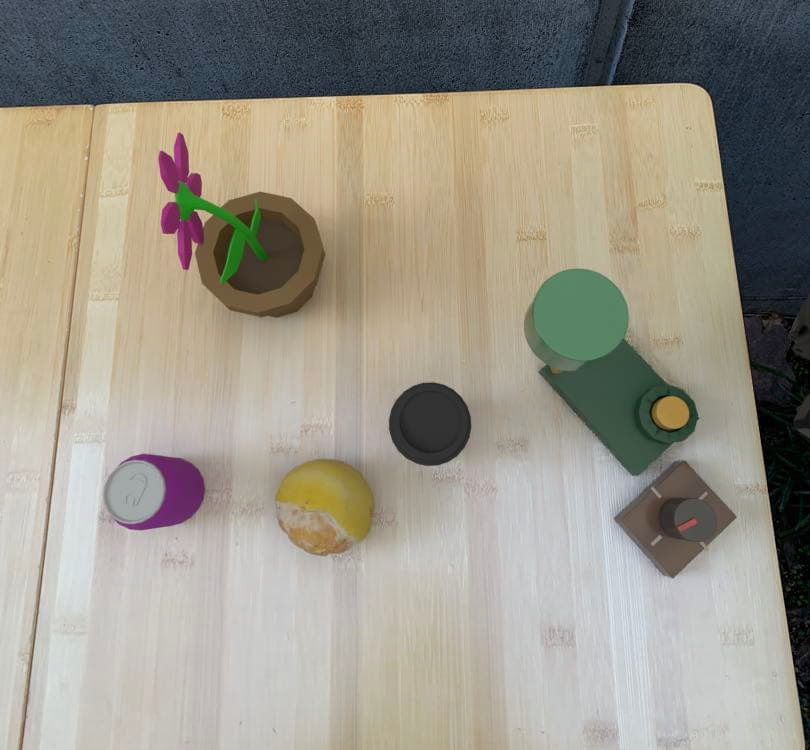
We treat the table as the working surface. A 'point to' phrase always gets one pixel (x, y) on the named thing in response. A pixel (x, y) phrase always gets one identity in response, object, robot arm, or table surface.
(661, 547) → the dimmer panel
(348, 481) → the fruit
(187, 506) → the beverage can
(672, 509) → the dimmer knob
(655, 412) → the lamp switch
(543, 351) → the green short cylinder
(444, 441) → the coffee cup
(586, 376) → the lamp base
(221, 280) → the flowerpot
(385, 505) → the table surface
